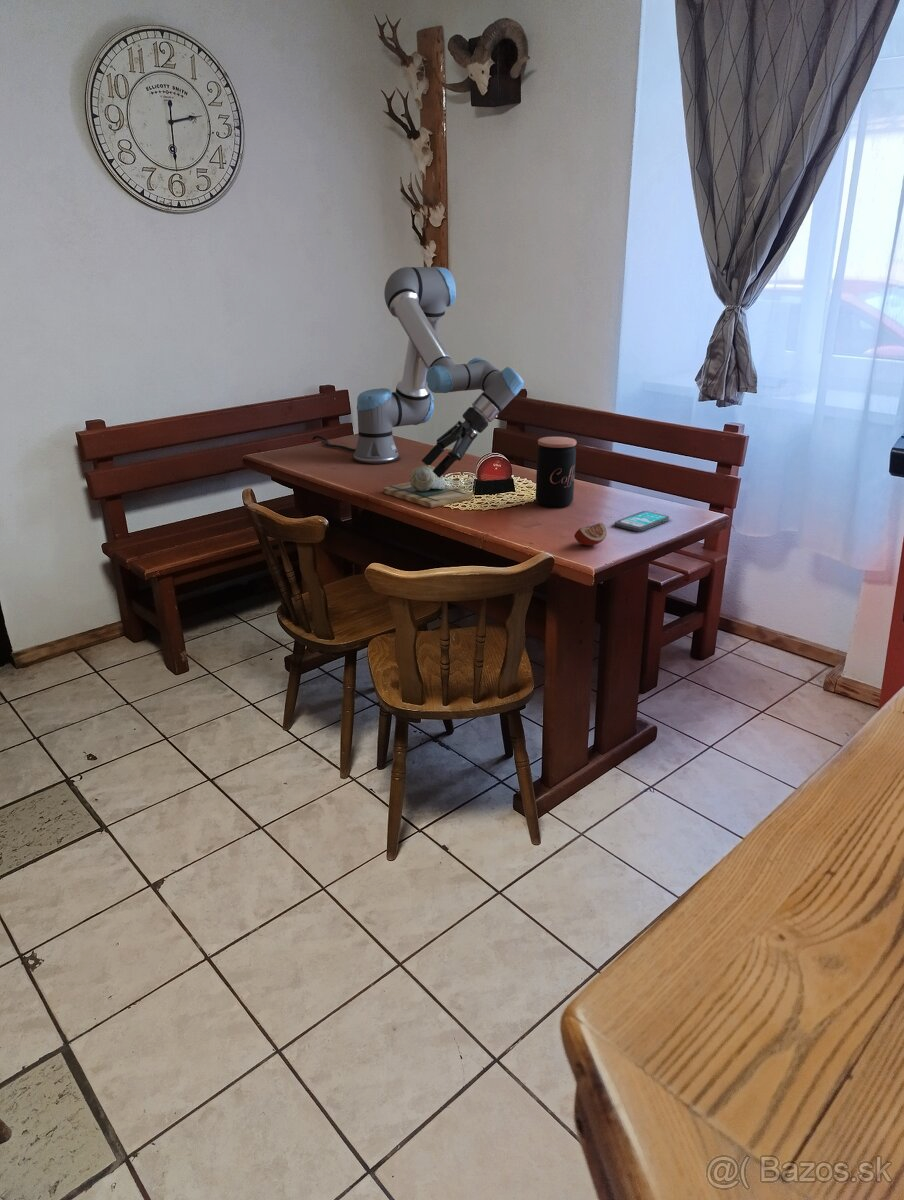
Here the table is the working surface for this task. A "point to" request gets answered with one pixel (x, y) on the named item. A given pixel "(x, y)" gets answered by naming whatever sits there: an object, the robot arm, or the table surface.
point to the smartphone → (641, 521)
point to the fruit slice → (591, 534)
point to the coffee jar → (555, 471)
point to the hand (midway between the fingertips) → (430, 469)
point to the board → (428, 495)
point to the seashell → (426, 479)
